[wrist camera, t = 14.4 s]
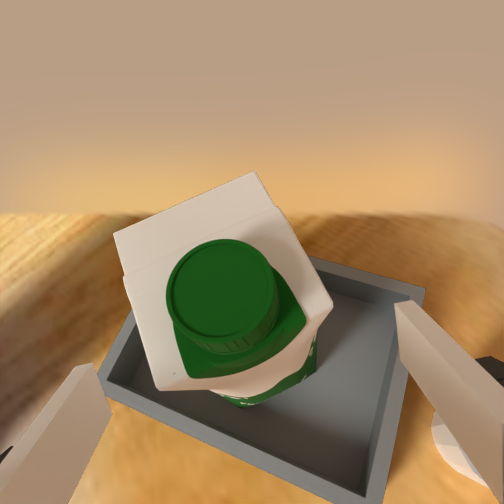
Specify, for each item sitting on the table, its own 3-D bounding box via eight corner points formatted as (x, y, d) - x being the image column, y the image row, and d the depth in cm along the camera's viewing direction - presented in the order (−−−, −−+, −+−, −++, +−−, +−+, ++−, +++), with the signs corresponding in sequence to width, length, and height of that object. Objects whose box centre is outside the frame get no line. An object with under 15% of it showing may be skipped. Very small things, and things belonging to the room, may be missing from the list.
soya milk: (235, 425, 29) (118, 409, 11) (198, 325, 33) (70, 201, 16) (332, 377, 30) (365, 290, 12) (283, 285, 34) (254, 121, 16)
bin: (119, 394, 32) (89, 388, 28) (194, 244, 38) (179, 219, 34) (366, 509, 26) (378, 524, 22) (410, 308, 32) (426, 288, 28)
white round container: (493, 379, 29) (543, 363, 23) (541, 478, 26) (615, 492, 19) (408, 397, 29) (434, 386, 23) (445, 498, 26) (487, 517, 20)
